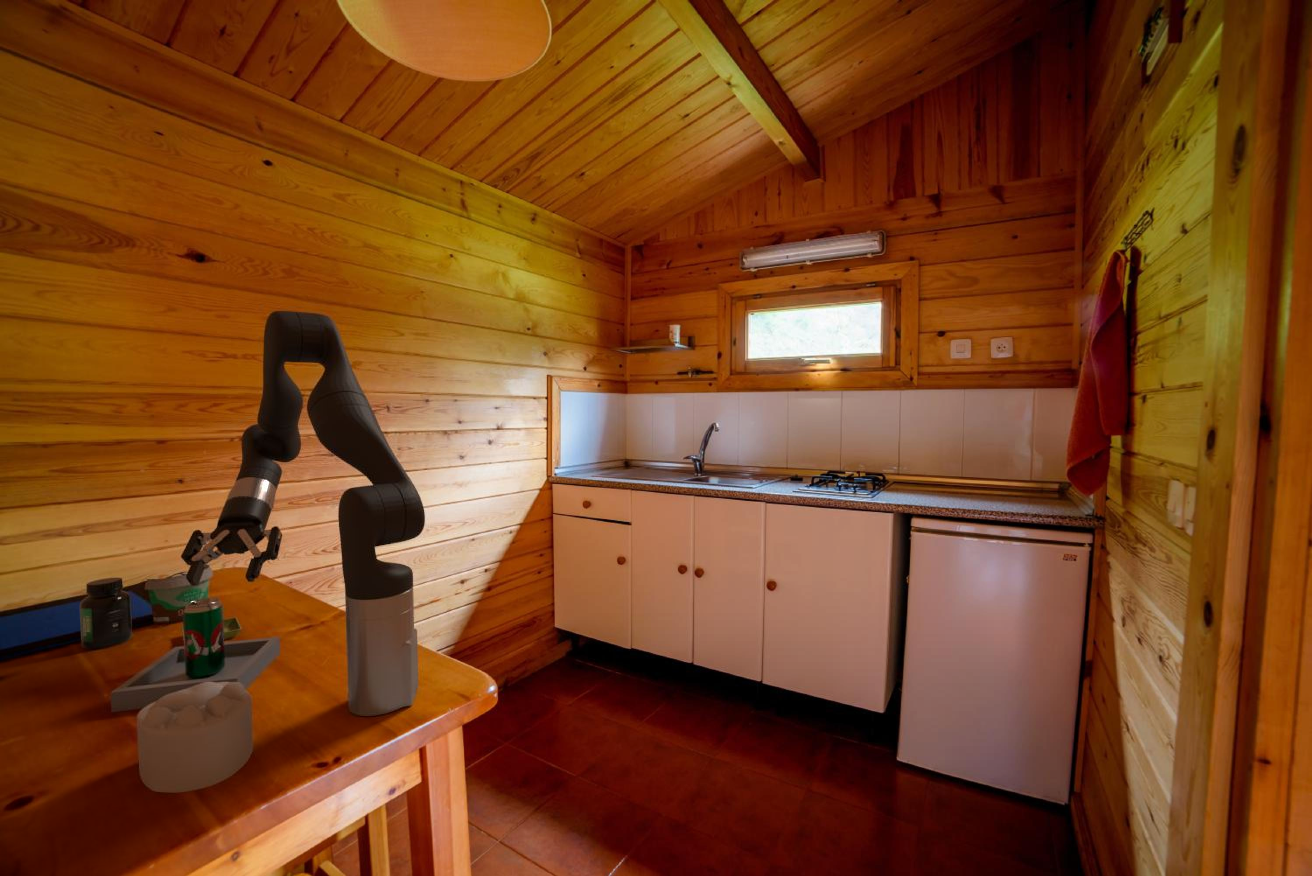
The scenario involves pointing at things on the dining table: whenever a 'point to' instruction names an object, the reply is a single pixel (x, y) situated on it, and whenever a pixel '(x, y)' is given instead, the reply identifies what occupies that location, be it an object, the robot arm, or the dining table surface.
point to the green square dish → (228, 628)
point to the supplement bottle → (105, 614)
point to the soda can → (203, 638)
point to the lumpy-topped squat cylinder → (195, 737)
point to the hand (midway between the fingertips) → (221, 581)
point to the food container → (175, 595)
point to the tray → (170, 677)
